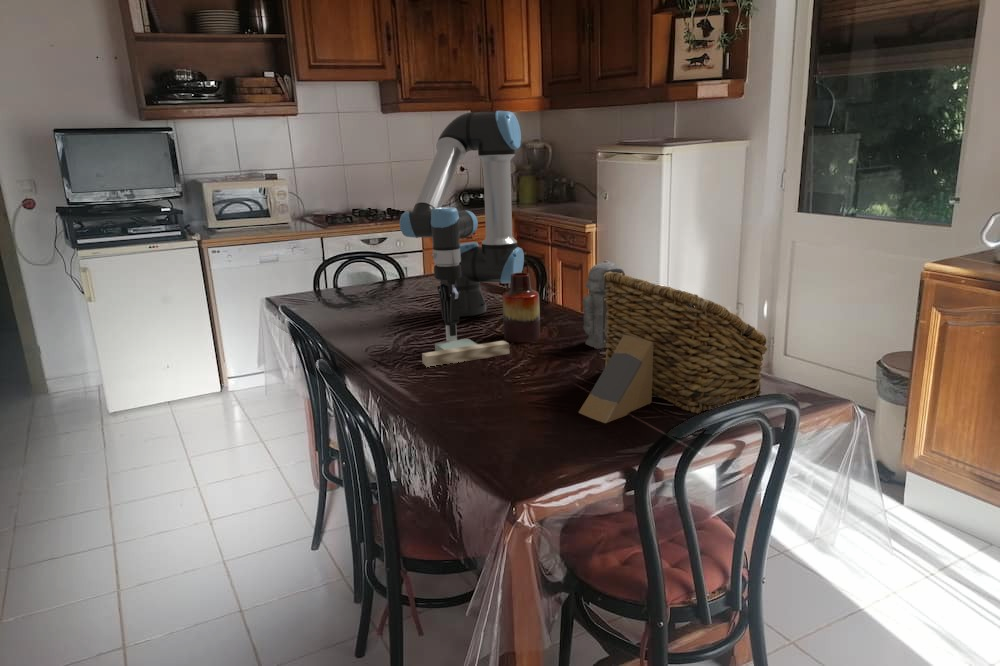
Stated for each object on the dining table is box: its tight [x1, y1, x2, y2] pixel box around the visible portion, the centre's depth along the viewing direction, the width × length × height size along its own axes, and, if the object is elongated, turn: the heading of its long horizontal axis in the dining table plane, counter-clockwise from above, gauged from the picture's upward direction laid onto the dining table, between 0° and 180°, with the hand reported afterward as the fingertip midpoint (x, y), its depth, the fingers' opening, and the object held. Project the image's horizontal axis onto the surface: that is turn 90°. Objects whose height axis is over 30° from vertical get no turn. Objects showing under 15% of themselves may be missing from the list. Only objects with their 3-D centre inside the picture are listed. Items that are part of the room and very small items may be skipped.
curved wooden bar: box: [421, 340, 511, 368], centre depth 194 cm, size 24×4×4 cm, turn 114°
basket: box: [603, 272, 768, 414], centre depth 167 cm, size 36×26×27 cm
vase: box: [502, 272, 541, 344], centre depth 210 cm, size 11×11×20 cm
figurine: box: [582, 259, 626, 350], centre depth 201 cm, size 10×14×25 cm
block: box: [434, 338, 479, 351], centre depth 200 cm, size 10×8×4 cm
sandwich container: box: [578, 335, 653, 424], centre depth 155 cm, size 9×15×15 cm, turn 129°
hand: (452, 345), depth 204 cm, fingers closed
